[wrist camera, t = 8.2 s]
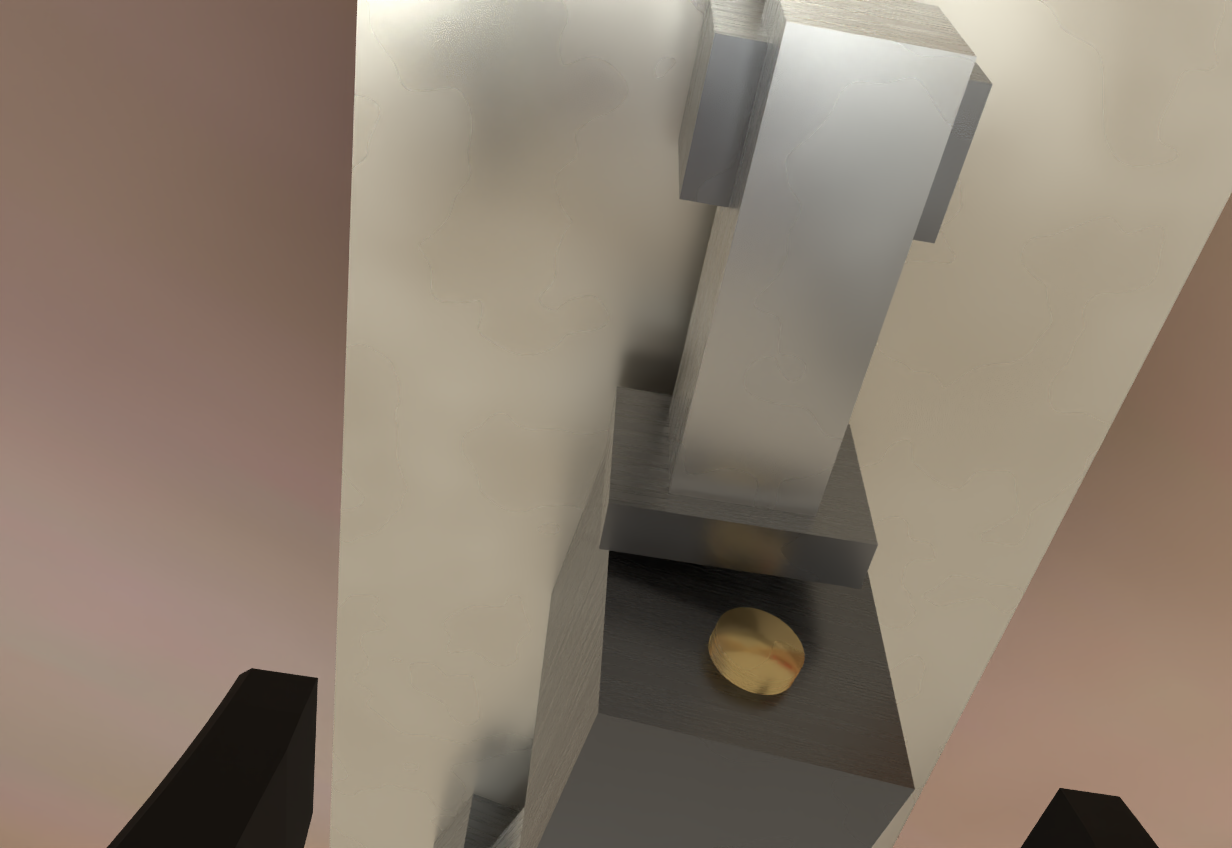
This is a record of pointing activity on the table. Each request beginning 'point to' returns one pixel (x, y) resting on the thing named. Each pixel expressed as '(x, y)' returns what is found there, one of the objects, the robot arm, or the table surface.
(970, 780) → the table surface
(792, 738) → the block
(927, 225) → the shaft fixture
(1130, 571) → the table surface
